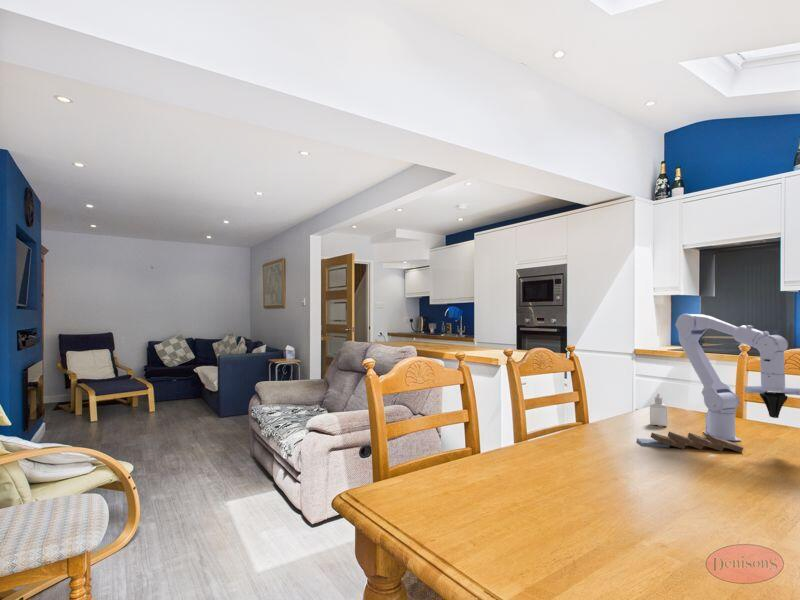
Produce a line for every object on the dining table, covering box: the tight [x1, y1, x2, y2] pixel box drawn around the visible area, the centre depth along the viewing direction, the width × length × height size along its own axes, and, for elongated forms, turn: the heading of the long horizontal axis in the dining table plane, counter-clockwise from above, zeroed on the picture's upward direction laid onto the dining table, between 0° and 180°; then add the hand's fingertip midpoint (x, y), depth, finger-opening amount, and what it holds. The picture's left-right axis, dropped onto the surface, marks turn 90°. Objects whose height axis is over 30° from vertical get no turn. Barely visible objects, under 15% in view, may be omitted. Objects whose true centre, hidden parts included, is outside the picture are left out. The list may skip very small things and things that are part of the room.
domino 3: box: [667, 431, 704, 450], centre depth 137 cm, size 2×5×8 cm
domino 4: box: [687, 432, 724, 452], centre depth 136 cm, size 2×5×8 cm
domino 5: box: [705, 434, 744, 453], centre depth 134 cm, size 2×5×8 cm
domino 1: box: [636, 437, 671, 448], centre depth 139 cm, size 2×5×8 cm
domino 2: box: [650, 432, 687, 450], centre depth 137 cm, size 2×5×8 cm
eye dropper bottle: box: [649, 393, 668, 427], centre depth 163 cm, size 4×6×12 cm
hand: (773, 417), depth 134 cm, fingers closed
